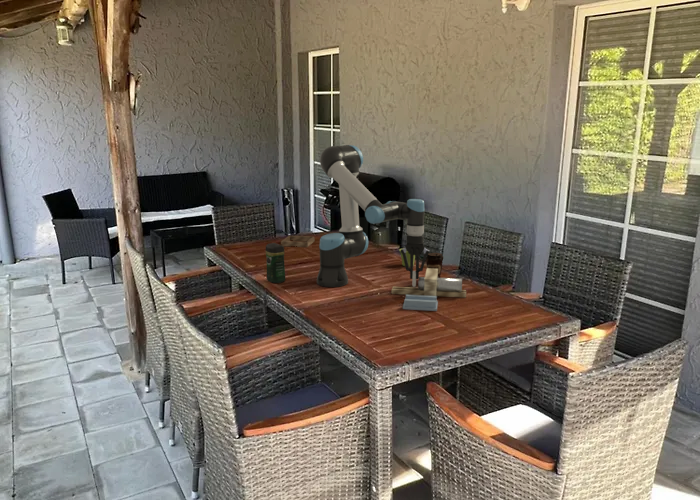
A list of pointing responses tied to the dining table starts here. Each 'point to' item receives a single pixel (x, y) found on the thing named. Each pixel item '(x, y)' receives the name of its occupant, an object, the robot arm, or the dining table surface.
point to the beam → (428, 287)
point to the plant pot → (407, 258)
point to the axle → (444, 284)
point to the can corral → (298, 238)
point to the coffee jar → (275, 263)
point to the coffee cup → (435, 262)
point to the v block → (420, 302)
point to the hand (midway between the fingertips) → (414, 285)
